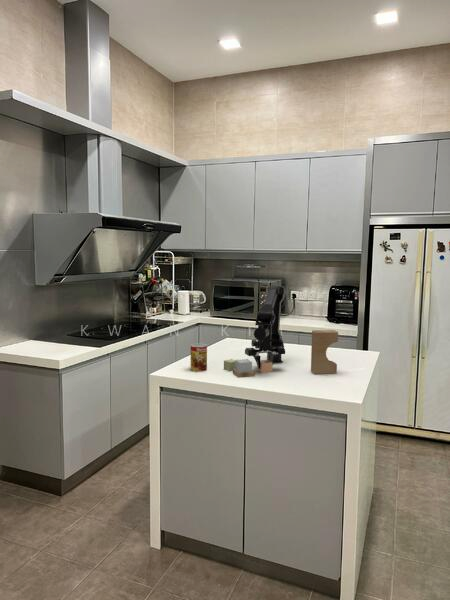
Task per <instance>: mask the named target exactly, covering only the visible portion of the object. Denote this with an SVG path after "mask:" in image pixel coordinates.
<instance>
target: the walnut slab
mask: <svg viewBox="0 0 450 600" xmlns="http://www.w3.org/2000/svg"><path fill="white" fill-rule="evenodd" d="M232 374H233V375H234V376H235V377H236V378H239V379H240V378H254V377H256V371H254V370H253V369H252V372H242V373H239V372H238V371H237V370H235V369H233V371H232Z"/></svg>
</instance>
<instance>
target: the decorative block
mask: <svg viewBox="0 0 450 600" xmlns="http://www.w3.org/2000/svg"><path fill="white" fill-rule="evenodd" d="M338 342H339V332H338V330H334V329H319V330H318V329H317V330H316V329H314V330H312V332H311V348H310V349H311V351H310V352H311V354H310V355H311V358H310V372H311V373H312V374H314V375H331V374H332V375H334V374H337V373H338V369H337V368H338V364H337V362H335V361H333V360H329V358H328V357H327V350H328V348H329V347H330V346H332V344H333V343H338Z"/></svg>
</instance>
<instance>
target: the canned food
mask: <svg viewBox="0 0 450 600" xmlns="http://www.w3.org/2000/svg"><path fill="white" fill-rule="evenodd" d="M190 371H192V372H196V373H199V372H200V373H201V372H206V371H208V344H205V343H202V342H201V343H192V344H190Z"/></svg>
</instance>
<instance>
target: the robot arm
mask: <svg viewBox="0 0 450 600" xmlns="http://www.w3.org/2000/svg"><path fill="white" fill-rule="evenodd" d="M286 295H287V289H286V287H285V286H284V285H271V286H268V289H267V295H266V298H265V301H264V305H262V306H261V307H260V308H259V310H258V312H257V314H256V320H255V326H257V328H255V330H254V331H253V336H254V339H251V343H250V344H251V347H246V348H245V349H244V354H245V355H246V356H248V357H253V358H254V360H255V364H256V365H257V366H258V369H260V360H261V358H262V357H261V355H260V354H266V360H269V361H271V362H272V367H273V365H274V364H275V363H277V364H278V363H283V361H282V355H286V349H285V344H284V343H285V342H284V341H283V335H282V334H281V332H280V325H281V324H280V323H281V310H282V302H284V300H285V296H286ZM254 347H255V348H254Z"/></svg>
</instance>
